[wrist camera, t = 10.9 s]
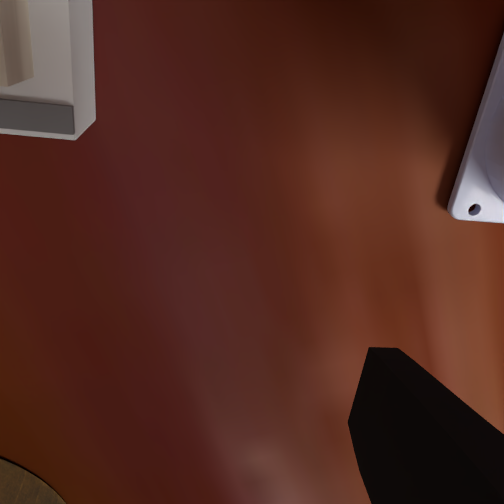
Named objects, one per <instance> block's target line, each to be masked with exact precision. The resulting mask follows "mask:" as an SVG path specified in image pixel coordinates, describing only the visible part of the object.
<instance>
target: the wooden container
mask: <svg viewBox="0 0 504 504" xmlns="http://www.w3.org/2000/svg"><path fill="white" fill-rule="evenodd" d="M0 504H66V503H65V502H64V501H63V500H62V498H61V497H60V496H59V495H58V494H57V493H56V492H55V491H54V490H53V489H52V488H51V487H49V486H48V485H47V484H46V483H44V482H43V481H42V480H40V479H39V478H38V477H36V476H34V475H33V474H31V473H29V472H28V471H26V470H24V469H22V468H20V467H18V466H16V465H14V464H12V463H10V462H7V461H5V460H2V459H0Z"/></svg>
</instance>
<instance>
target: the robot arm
mask: <svg viewBox="0 0 504 504" xmlns="http://www.w3.org/2000/svg"><path fill="white" fill-rule="evenodd" d="M473 204H476V207H475V209H474V210H473V211H471V212H468V209H469V208H470V206H472V205H473ZM447 210H448V213H449V214H450V215H451V216H452V217H453V218H455V219H458V220H468V221H481V222H494V223H504V33H503V37H502V40H501V43H500V46H499V49H498V52H497V55H496V58H495V61H494V64H493V67H492V70H491V73H490V77H489V80H488V83H487V86H486V89H485V92H484V95H483V98H482V101H481V104H480V107H479V110H478V113H477V117H476V120H475V123H474V126H473V129H472V132H471V135H470V138H469V141H468V144H467V147H466V150H465V153H464V157H463V160H462V163H461V166H460V169H459V172H458V175H457V178H456V181H455V184H454V187H453V190H452V193H451V197H450V200H449V203H448V207H447ZM348 426H349V430H350V434H351V439H352V443H353V447H354V451H355V455H356V459H357V463H358V467H359V471H360V474H361V476H362V479H363V482H364V485H365V487H366V490H367V493H368V495H369V498H370V501H371V503H372V504H504V434H503V433H501V432H500V431H499V430H497V429H496V428H495V427H494V426H492V425H491V424H490V423H489V422H487V421H486V420H485V419H484V418H483V417H481V416H480V415H479V414H478V413H476V412H475V411H474V410H473V409H472V408H470V407H469V406H468V405H467V404H466V403H464V402H463V401H462V400H461V399H460V398H458V397H457V396H456V395H455V394H454V393H452V392H451V391H450V390H449V389H448V388H446V387H445V386H444V385H443V384H442V383H440V382H439V381H438V380H437V379H436V378H434V377H433V376H432V375H431V374H430V373H429V372H427V371H426V370H425V369H424V368H422V367H421V366H420V365H419V364H418V363H416V362H415V361H414V360H413V359H411V358H410V357H409V356H408V355H406V354H405V353H404V352H402V351H401V350H400V349H398V348H380V347H369V349H368V352H367V356H366V359H365V363H364V366H363V370H362V374H361V377H360V381H359V384H358V388H357V391H356V395H355V398H354V402H353V405H352V409H351V412H350V416H349V419H348Z"/></svg>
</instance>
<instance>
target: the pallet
mask: <svg viewBox="0 0 504 504" xmlns="http://www.w3.org/2000/svg"><path fill="white" fill-rule="evenodd" d="M33 77H34V69H33V57H32V45H31V33H30V21H29V9H28V0H0V86H4V87H9V86H12V85H14V84H17V83H20V82H22V81H25V80H28V79H30V78H33Z"/></svg>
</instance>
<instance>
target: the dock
mask: <svg viewBox="0 0 504 504" xmlns="http://www.w3.org/2000/svg"><path fill="white" fill-rule="evenodd" d="M28 9H29V21H30V33H31V45H32V57H33V69H34V77H33V78H30V79H28V80H25V81H22V82H20V83H17V84H14V85H12V86H9V87H4V86H0V133H3V134H14V135H24V136H35V137H46V138H57V139H68V140H76V139H77V138H78V137H79V136H80V135H81V134H82V133H83V132H84V131H85V130H86V129H87V128H88V127H89V126H90V125H91V124H92V123H93V122H94V121H95V120H96V112H95V79H94V46H93V13H92V0H28Z"/></svg>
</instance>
